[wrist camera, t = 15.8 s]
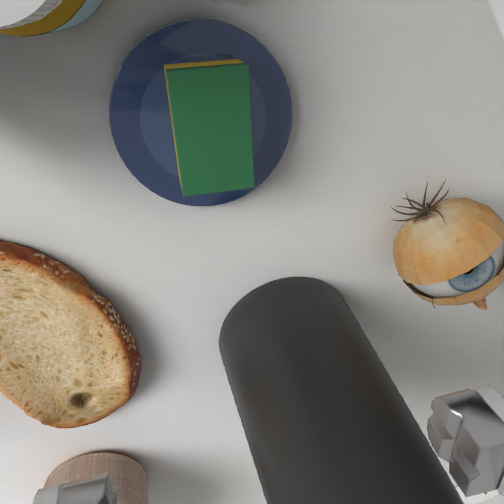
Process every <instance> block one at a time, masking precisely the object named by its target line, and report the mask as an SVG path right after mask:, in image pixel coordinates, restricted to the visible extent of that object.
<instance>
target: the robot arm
mask: <svg viewBox="0 0 504 504" xmlns="http://www.w3.org/2000/svg"><path fill="white" fill-rule="evenodd" d="M431 408H432V410H433V411H434V414H433V415H432V416H431V417H430V418H429V419H428V424H427V431H428V436H429V440H430V442H431V444H432V446H433V448H434V450H435V451H436V453H437V454H438V456H439V457H441V458H442V459H444V460H446V461H447V462H449V463H450V467H449V472H450V474H451V475H452V477H453V478H454V480H455V481H456V483H457V484H458V486H459V487H460V489H461V490H462V492H463V493H464V495H465V496H466V497H469V496H473V495H477V494H481V493H485V492H490V491H494V490H498V491H497V492H499V493H500V494H501V495H503V496H504V397H503V396H502V395H501V394H500V393H499V392H498V391H497V390H496V389H495V388H494V387H492V386H490V385H486V386H482V387H478V388H474V389H467V390H463V391H459V392H455V393H451V394H447V395H443V396H439V397H436V398H435V399H434V400H433V401H432V405H431ZM112 490H113V482H112V479H111V477H110V475H109V474H107V475H103V476H98V477H93V478H89V479H84V480H80V481H75V482H70V483H66V484H60V485H56V486H52V487H47V488H43V489H39V490H38V491H37V493H36V495H35V497H34V500H33V504H120V502H119V498H118V495H117V494H116V493H114V492H112Z"/></svg>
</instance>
